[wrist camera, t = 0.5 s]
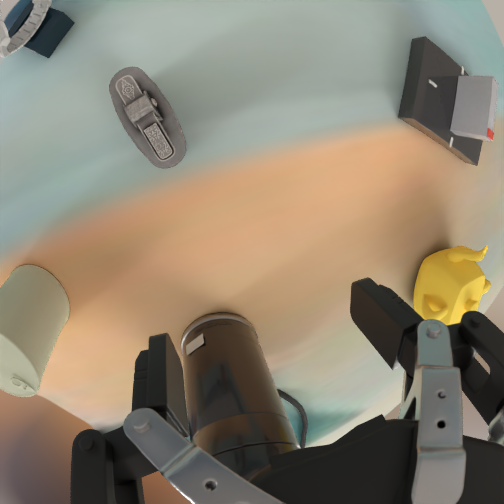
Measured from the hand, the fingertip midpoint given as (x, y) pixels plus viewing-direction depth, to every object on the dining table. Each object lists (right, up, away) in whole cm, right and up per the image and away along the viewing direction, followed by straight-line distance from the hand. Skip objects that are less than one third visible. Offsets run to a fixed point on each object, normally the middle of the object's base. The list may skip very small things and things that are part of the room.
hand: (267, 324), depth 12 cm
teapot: (+28, 0, +28) cm, 40 cm away
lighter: (-9, +15, +12) cm, 21 cm away
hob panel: (+25, +23, +17) cm, 38 cm away
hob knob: (+26, +22, +14) cm, 37 cm away
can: (-26, -3, +15) cm, 30 cm away
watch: (-21, +25, +4) cm, 33 cm away
